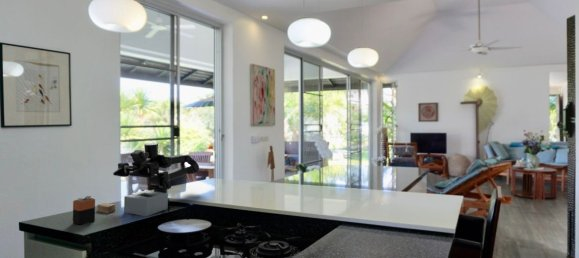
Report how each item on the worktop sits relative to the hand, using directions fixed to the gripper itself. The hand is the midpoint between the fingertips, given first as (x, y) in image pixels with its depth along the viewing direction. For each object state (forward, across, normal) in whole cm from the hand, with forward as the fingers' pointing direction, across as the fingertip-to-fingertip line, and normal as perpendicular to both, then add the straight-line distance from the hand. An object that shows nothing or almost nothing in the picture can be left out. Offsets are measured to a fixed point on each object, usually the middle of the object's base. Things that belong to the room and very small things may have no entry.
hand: (121, 174), depth 167 cm
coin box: (-7, +5, +18) cm, 20 cm away
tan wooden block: (+2, -9, +16) cm, 19 cm away
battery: (+18, -4, +15) cm, 24 cm away
